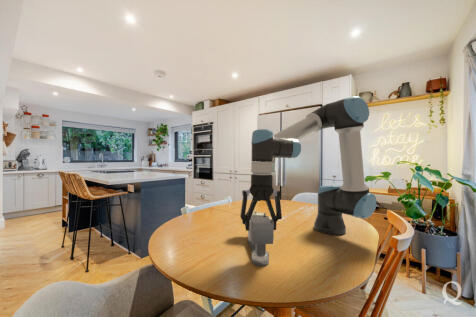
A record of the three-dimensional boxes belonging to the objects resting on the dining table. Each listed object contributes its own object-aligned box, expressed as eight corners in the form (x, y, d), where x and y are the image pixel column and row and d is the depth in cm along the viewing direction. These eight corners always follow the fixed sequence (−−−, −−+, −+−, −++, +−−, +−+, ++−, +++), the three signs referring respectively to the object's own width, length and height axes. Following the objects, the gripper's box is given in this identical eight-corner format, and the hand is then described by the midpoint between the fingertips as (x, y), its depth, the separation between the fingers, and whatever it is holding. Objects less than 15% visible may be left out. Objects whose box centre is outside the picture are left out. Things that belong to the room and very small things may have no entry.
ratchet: (258, 241, 87) (258, 225, 88) (270, 266, 68) (271, 245, 68) (244, 242, 87) (244, 226, 87) (253, 266, 67) (253, 245, 67)
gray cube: (267, 236, 74) (268, 217, 74) (273, 243, 67) (273, 222, 67) (249, 236, 73) (249, 217, 73) (252, 244, 66) (253, 223, 66)
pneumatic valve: (267, 240, 90) (268, 213, 90) (241, 237, 92) (242, 211, 92) (268, 235, 95) (268, 210, 95) (244, 233, 97) (244, 208, 97)
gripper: (285, 173, 75) (284, 234, 75) (232, 172, 73) (231, 235, 73) (293, 175, 68) (291, 242, 68) (234, 174, 66) (233, 244, 65)
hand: (260, 239), depth 70 cm, fingers closed on gray cube, 7 cm apart
